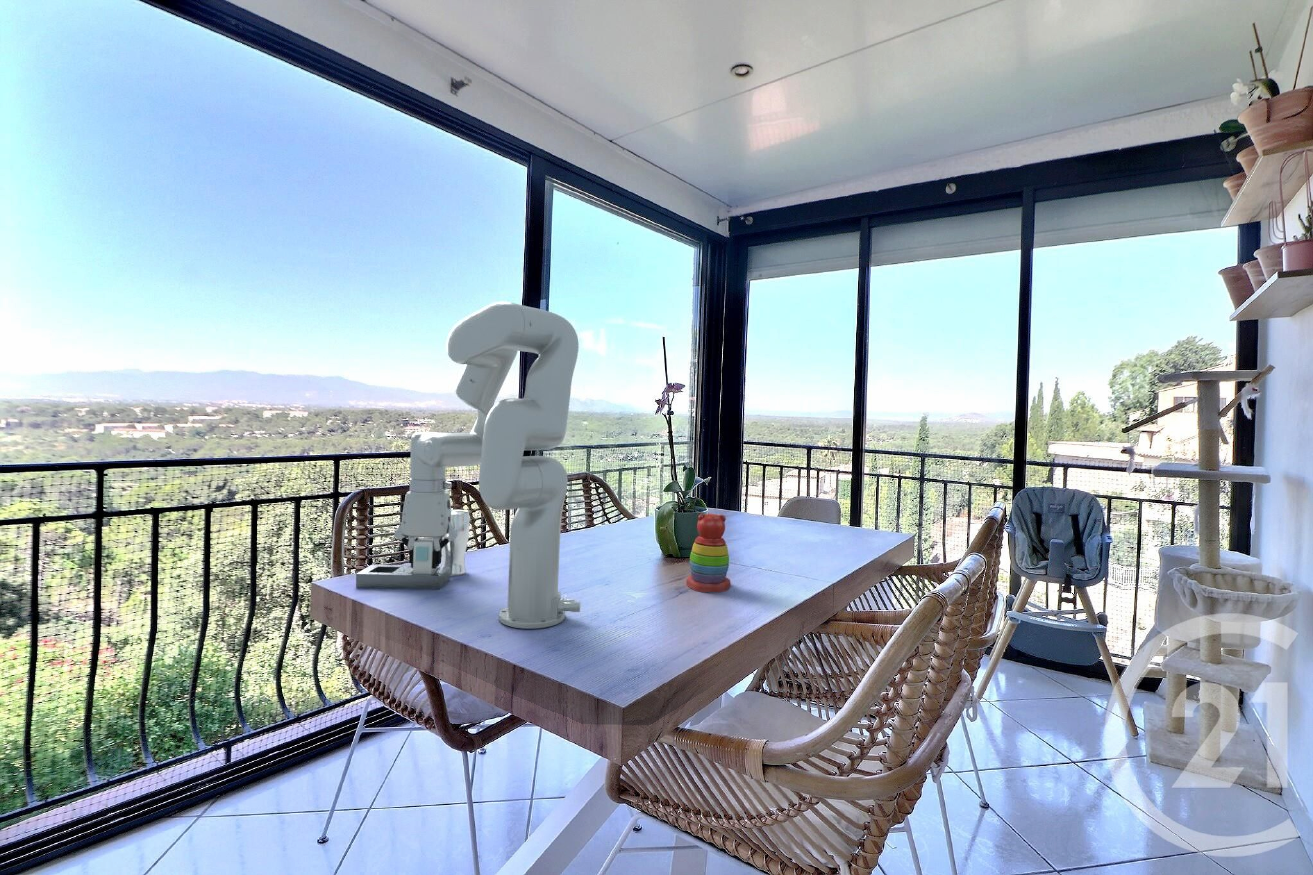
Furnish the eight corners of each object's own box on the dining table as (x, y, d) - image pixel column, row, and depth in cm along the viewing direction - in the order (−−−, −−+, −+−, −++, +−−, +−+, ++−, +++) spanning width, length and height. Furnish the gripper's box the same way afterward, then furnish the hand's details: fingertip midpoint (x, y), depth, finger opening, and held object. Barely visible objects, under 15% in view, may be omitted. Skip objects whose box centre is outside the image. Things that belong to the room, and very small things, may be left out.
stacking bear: (730, 583, 148) (733, 511, 147) (731, 595, 138) (735, 518, 137) (686, 580, 149) (690, 509, 148) (684, 591, 139) (688, 515, 138)
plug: (436, 581, 138) (437, 538, 137) (429, 587, 133) (430, 543, 133) (418, 581, 138) (420, 538, 137) (411, 587, 133) (412, 542, 132)
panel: (449, 579, 140) (450, 566, 140) (439, 589, 132) (439, 576, 132) (371, 577, 139) (371, 564, 139) (355, 587, 131) (356, 573, 131)
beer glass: (462, 577, 142) (464, 514, 142) (433, 575, 142) (435, 513, 142) (471, 569, 149) (473, 510, 149) (444, 568, 149) (446, 509, 149)
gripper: (469, 486, 139) (466, 563, 140) (396, 483, 138) (393, 561, 139) (460, 490, 132) (457, 572, 132) (383, 487, 131) (380, 569, 131)
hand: (425, 565), depth 135 cm, fingers closed on plug, 4 cm apart
